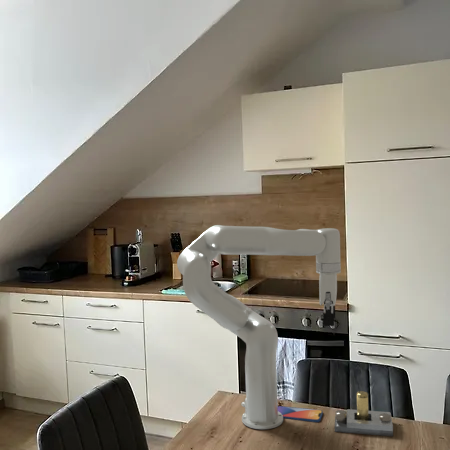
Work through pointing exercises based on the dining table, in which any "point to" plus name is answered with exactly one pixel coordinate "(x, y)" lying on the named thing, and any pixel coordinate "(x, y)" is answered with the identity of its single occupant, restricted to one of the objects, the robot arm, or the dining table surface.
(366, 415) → the pin
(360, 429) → the grey block with knobs
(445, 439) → the dining table surface
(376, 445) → the dining table surface
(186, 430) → the dining table surface
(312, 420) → the smartphone
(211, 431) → the dining table surface
